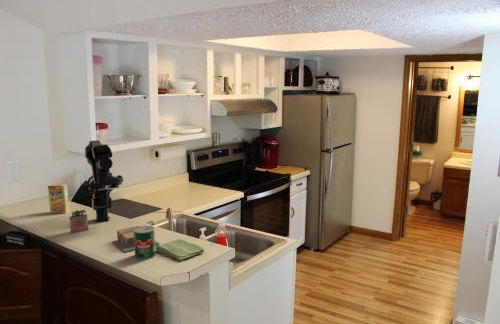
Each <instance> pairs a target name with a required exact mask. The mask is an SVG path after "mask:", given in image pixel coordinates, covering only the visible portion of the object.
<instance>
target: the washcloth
mask: <svg viewBox="0 0 500 324" xmlns="http://www.w3.org/2000/svg"><path fill="white" fill-rule="evenodd" d="M155 252H157V253H159V254H162V255H164V256H165V257H170V258H172V259H176V260H178V261H180V262H182V261H184V260H187V259H189V258H192V257H194V256H197V255H199V254H201V253H204V252H205V249H204V248H203V247H201V246H200V245H198V244H195V243H191V242H188V241H186V240H183V239H181V238H180V239H179V238H178V239H174V240H170V241H169V242H165V243H164V242H163V243H159V245H156V246H155Z"/></svg>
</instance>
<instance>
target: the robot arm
mask: <svg viewBox="0 0 500 324" xmlns="http://www.w3.org/2000/svg"><path fill="white" fill-rule="evenodd" d="M84 156H85V157H84V158H85V159H86V160H87V161H86V162H87V164H89V166H90V167H91V170H92V171H91V172H92V177H93V179H92V180H93V183H91V184H89V187H88V188H89V191H94V190H95V191H94V193H93V196H92V200H91V208H92V210H93V211H95V216H96V218H95V220H94V222H95V223H97V222H99V223H101V222H109V220H110V218H111V217H110V216H109V211H108V209H111V208H112V206H113V205H112V200H113V199H112V198H111V196H110V194H111V192H113V190H114V189H119V187H120V186H122V184H123V182H124V177H123V175H119V174H118V175H117V176H115V175H113V172H110V169H112V167H113V160H112V159H111V158H112V157H113V152H112V149H111V148H110V146H109V145H108V144H102V143H101V141H100V140H98V139H97V140H90V141H89V142H88V145H87V146H86V147H85V149H84Z"/></svg>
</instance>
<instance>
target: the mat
mask: <svg viewBox="0 0 500 324" xmlns="http://www.w3.org/2000/svg"><path fill="white" fill-rule="evenodd" d="M112 243H113V245H115V246H116V247H117V248H118V249H119V250H120V251H121V252H123V253H125V254H126V253H130V252H135V246H133V247H129V248H127V247H126V246H125V245H124V244H123V243H121V242H120V241H119V240H118V239H116V240H112ZM157 245H160V243H159V242H158V241H157V240H155V247H156V246H157Z"/></svg>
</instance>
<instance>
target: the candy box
mask: <svg viewBox="0 0 500 324" xmlns="http://www.w3.org/2000/svg"><path fill="white" fill-rule="evenodd" d="M47 189H48V201H49V212H50V214H67V213H69V212H70V205H69V195H68V194H69V193H68V184H67V183H64V184H61V183H59V184H58V183H55V184H53V183H52V184H48V185H47Z"/></svg>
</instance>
